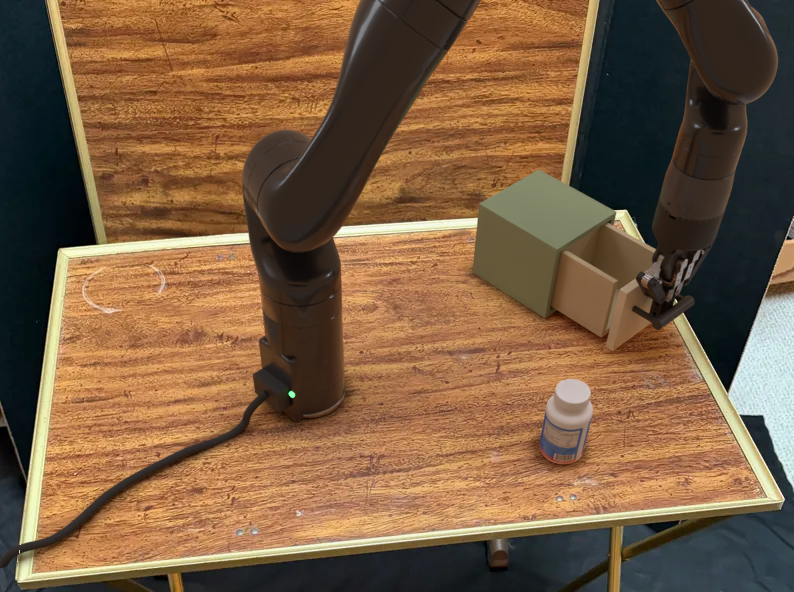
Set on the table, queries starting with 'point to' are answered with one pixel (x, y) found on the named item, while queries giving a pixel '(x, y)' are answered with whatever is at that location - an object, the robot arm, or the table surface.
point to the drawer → (609, 286)
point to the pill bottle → (566, 422)
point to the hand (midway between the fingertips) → (658, 317)
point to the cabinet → (532, 236)
